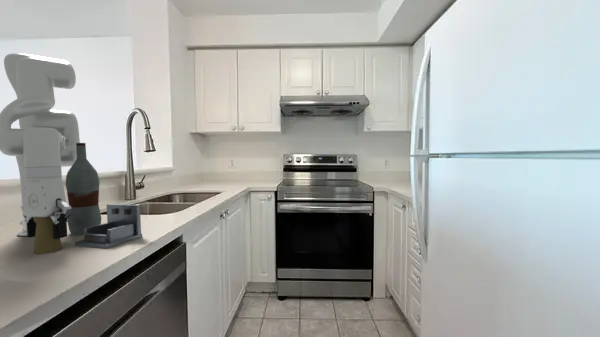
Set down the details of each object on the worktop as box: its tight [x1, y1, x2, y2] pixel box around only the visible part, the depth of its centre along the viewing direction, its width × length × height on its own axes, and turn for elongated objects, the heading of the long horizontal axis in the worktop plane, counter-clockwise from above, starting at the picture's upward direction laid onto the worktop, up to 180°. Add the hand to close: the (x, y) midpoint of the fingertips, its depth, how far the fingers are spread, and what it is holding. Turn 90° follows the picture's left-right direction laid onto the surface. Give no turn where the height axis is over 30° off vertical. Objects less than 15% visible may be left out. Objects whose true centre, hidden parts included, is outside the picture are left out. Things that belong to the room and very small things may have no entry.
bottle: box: [65, 142, 102, 236], centre depth 101 cm, size 9×9×30 cm
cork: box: [32, 216, 63, 255], centre depth 81 cm, size 6×6×11 cm
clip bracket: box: [74, 203, 143, 249], centre depth 89 cm, size 12×12×10 cm
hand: (47, 237), depth 81 cm, fingers open, 9 cm apart
